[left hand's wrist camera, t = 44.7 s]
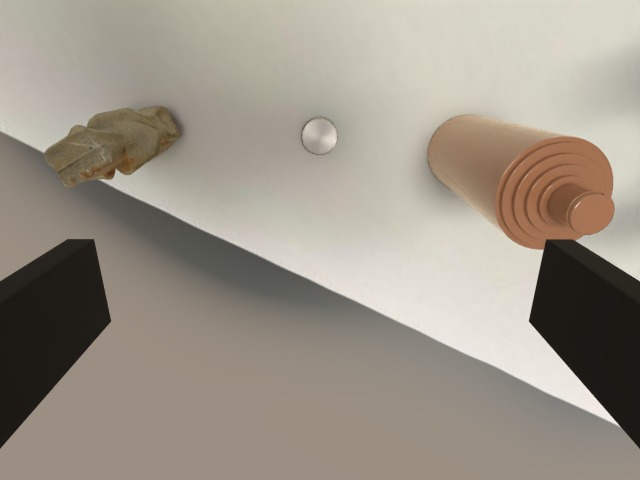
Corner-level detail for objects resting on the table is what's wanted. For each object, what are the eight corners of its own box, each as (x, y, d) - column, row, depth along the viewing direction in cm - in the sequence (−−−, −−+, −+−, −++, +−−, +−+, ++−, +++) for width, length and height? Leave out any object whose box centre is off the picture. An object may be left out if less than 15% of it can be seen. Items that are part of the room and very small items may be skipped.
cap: (324, 109, 46) (324, 110, 44) (343, 139, 47) (344, 142, 45) (295, 129, 46) (294, 131, 44) (315, 158, 48) (314, 162, 46)
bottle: (473, 198, 49) (601, 295, 27) (414, 167, 48) (496, 243, 26) (513, 135, 47) (693, 184, 24) (452, 101, 45) (582, 120, 23)
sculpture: (111, 120, 46) (20, 137, 32) (168, 93, 45) (100, 99, 31) (139, 168, 48) (65, 204, 34) (194, 144, 47) (141, 171, 33)
